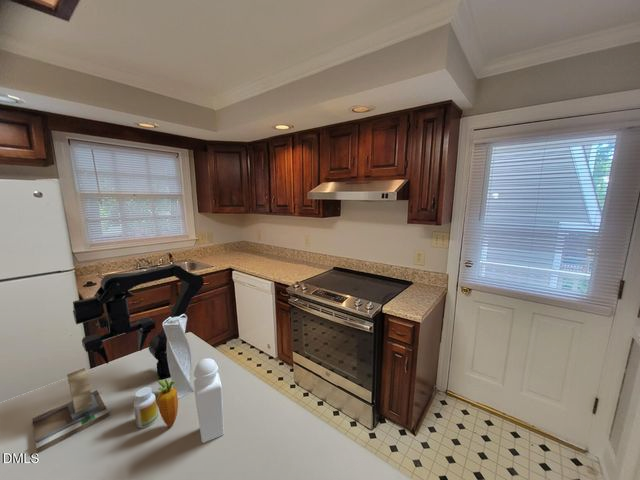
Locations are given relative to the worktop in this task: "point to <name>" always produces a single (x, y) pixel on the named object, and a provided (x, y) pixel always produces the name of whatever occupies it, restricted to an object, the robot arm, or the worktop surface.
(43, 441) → the board
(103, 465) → the worktop surface
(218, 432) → the white square bottle
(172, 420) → the carrot
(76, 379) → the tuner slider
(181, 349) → the skyscraper
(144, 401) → the supplement bottle
